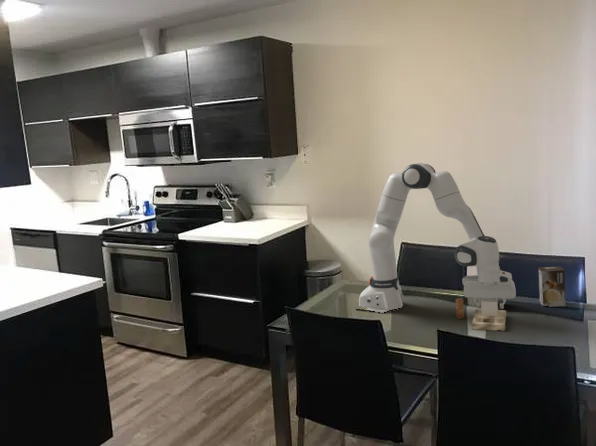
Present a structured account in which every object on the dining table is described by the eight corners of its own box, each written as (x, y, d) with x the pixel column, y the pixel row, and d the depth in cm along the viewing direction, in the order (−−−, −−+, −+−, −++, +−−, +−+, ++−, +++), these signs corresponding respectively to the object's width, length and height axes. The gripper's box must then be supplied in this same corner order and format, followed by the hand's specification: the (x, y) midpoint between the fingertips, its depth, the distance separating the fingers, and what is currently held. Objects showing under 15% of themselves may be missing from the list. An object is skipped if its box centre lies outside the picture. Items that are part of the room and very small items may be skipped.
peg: (456, 318, 216) (455, 300, 214) (457, 316, 218) (455, 298, 217) (463, 318, 214) (462, 300, 213) (464, 316, 217) (463, 298, 216)
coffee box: (562, 301, 221) (561, 266, 219) (566, 306, 215) (565, 270, 212) (539, 302, 224) (538, 266, 221) (542, 307, 217) (541, 271, 215)
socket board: (472, 329, 203) (471, 316, 202) (475, 314, 217) (475, 302, 217) (504, 330, 198) (504, 317, 197) (506, 315, 213) (505, 303, 212)
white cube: (481, 315, 210) (481, 301, 209) (482, 310, 215) (482, 296, 214) (497, 316, 207) (496, 302, 206) (498, 311, 212) (497, 297, 211)
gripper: (461, 277, 210) (463, 309, 212) (515, 278, 201) (516, 311, 204) (462, 273, 215) (464, 304, 218) (515, 273, 207) (516, 305, 209)
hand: (490, 307), depth 211 cm, fingers open, 8 cm apart
